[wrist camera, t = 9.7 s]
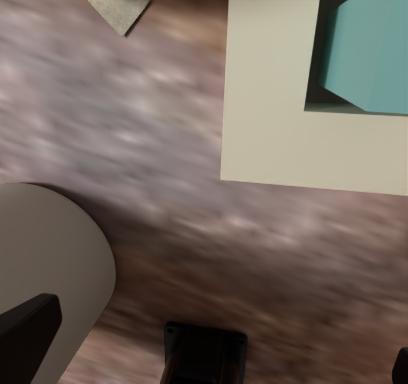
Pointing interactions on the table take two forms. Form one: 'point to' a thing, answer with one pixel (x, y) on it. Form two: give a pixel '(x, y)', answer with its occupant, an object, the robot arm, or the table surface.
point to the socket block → (300, 108)
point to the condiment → (119, 12)
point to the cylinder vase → (54, 265)
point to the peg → (368, 54)
